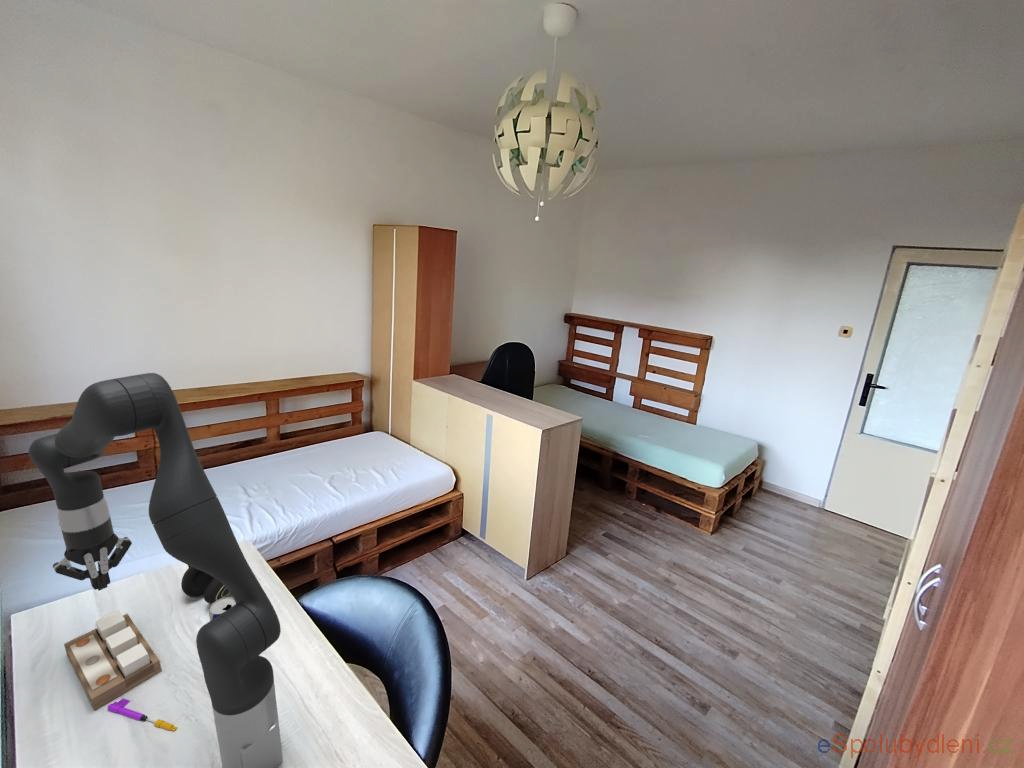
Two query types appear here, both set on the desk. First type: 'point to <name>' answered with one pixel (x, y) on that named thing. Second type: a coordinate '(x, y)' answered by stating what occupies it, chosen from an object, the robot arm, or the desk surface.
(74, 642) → the button board
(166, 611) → the desk surface
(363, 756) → the desk surface
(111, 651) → the button middle
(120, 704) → the purple-handled probe tool
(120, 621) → the button
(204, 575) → the headphones
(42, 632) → the desk surface
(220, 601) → the energy drink
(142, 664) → the button
